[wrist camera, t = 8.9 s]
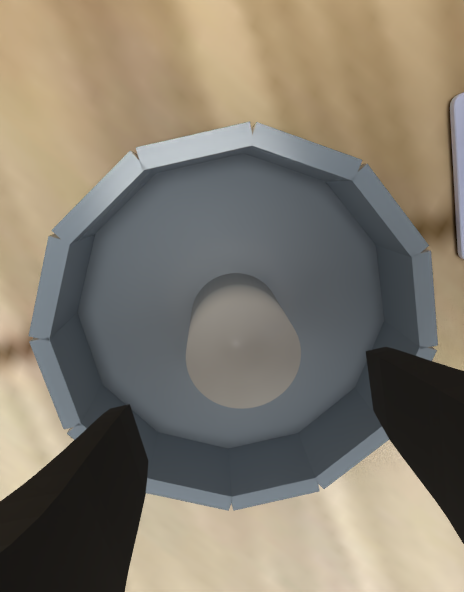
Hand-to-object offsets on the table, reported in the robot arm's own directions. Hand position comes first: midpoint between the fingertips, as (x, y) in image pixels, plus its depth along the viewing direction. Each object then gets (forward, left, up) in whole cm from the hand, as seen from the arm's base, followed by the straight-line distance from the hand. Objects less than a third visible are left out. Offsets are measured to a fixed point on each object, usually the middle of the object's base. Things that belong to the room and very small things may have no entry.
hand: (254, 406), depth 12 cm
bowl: (0, 0, -9) cm, 9 cm away
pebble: (0, 0, -8) cm, 8 cm away
